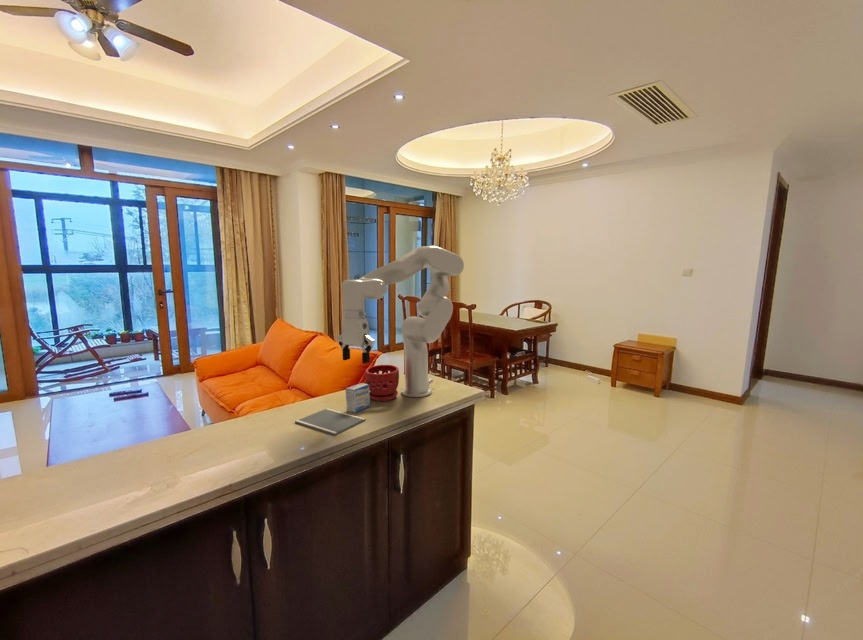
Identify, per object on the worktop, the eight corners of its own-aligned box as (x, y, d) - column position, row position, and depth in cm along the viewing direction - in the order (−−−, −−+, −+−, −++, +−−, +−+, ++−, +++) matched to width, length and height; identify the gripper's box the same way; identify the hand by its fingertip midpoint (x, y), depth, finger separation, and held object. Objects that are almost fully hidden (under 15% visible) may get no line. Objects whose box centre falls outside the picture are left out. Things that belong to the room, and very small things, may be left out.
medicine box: (355, 413, 139) (354, 390, 138) (346, 410, 142) (345, 387, 140) (370, 406, 146) (369, 384, 144) (361, 404, 148) (360, 382, 147)
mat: (327, 409, 143) (327, 408, 143) (365, 420, 132) (365, 418, 132) (295, 422, 131) (295, 420, 131) (334, 435, 121) (334, 433, 121)
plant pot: (364, 394, 160) (363, 366, 158) (395, 391, 163) (395, 363, 162) (369, 405, 147) (367, 374, 146) (402, 401, 151) (402, 371, 149)
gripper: (379, 314, 137) (381, 361, 140) (344, 312, 147) (346, 356, 149) (365, 317, 131) (366, 366, 133) (329, 314, 140) (331, 360, 143)
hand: (356, 361), depth 141 cm, fingers open, 9 cm apart
